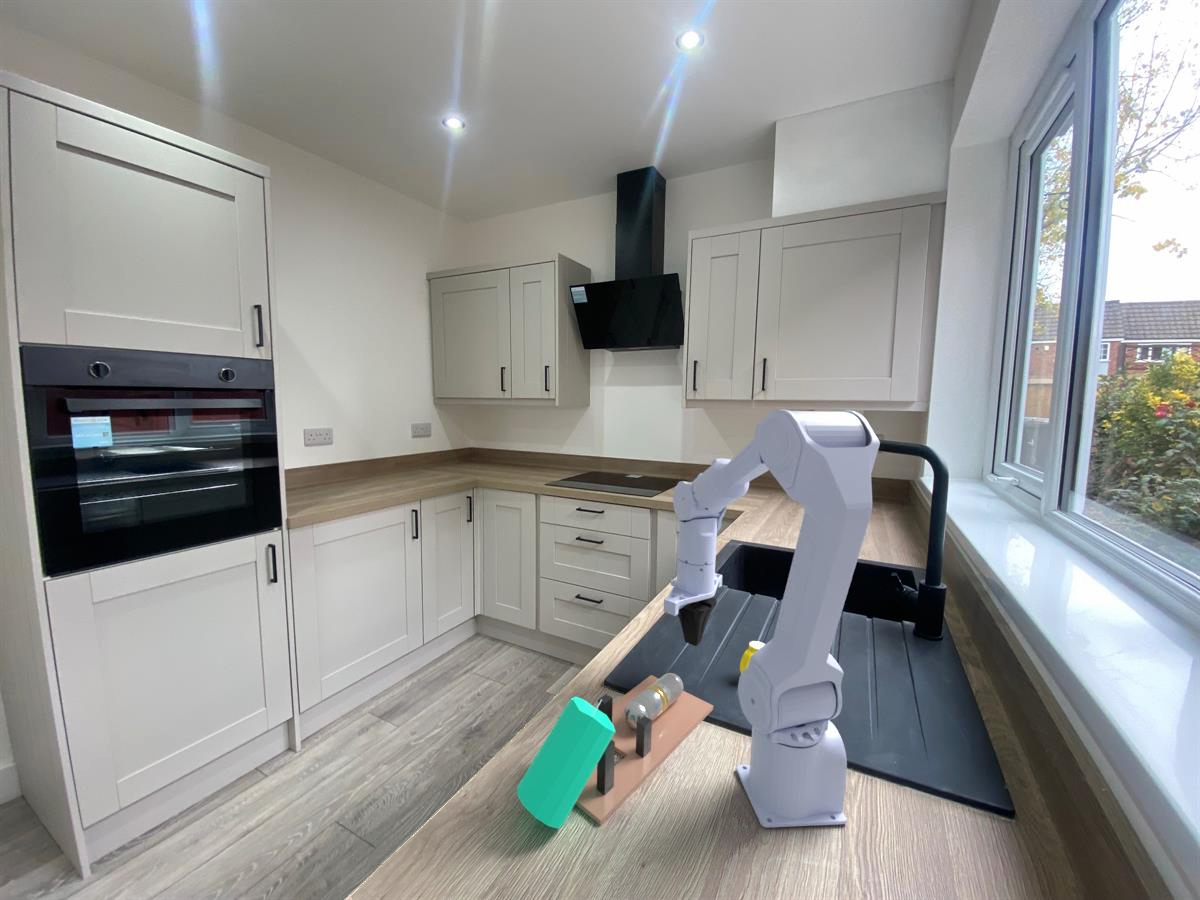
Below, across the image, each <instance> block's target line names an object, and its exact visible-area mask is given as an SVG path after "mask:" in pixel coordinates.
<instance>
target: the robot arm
mask: <svg viewBox="0 0 1200 900" xmlns="http://www.w3.org/2000/svg"><path fill="white" fill-rule="evenodd" d="M880 444H881V441H880V440H879V438H878V437H877V435H876V434H875V432H874V429H873V428H872V427H871V425H870V424H869V421H868V420H867V419H866V418H865V417H864V416H863V415H862V414H861V413H859V412H857V411H854V410H851V409H850V410H849V409H848V410H847V409H844V410H839V411H821V410H820V411H818V410H817V411H816V410H815V411H814V410H813V411H812V410H811V411H809V410H789V409H788V410H787V409H783V408H780V409H774V410H772V411H770V412H769V413H768V414H767V415H765V418H764V419H762V420H761V421H758V422H757V423H756V424H755V430H754V437H753V438H751V440H750V441H749V442H747V444H746V445H745V446H743V447H742V449H740V450H739V452H737V454H736V455H735V456H733V457H732V459H730V458H714V460H712V461H711V466H709V467H708V468H707V469H706V470H705V471H703V472H700V473H699V474H698V475H697V476H696V478H694V480H693V481H691V482H688V481H685V480H683V481H682V480H681V481H678V482H677V484H676V486H675V487H674V490H673V494H672V505H673V510H674V513H675V515H676V517H677V519H679V520H678V522H679V523H678V540H677V542H678V543H677V565H676V577H675V578H674V579H673V578H672V579H671V580H670V585H671V586H672V589H671V591H670V592H669V594H668V596H667V597H665V598H664V599H663V612H664V613H666V614H668V615H672V616H674V617H676V616H678V618H679V622H680V626H681V629H682V635H683V639H684V642H685V643H687V644H689V645H692V646H694V647H697V646H698V645H700V644H701V641H702V638H703V636H704V633H705V629H706V627H707V626H706V625H707V623H708V620H709V619H710V615H711V614H712V613H713V612H712V611H713V610H714V609H715V607H716V605H717V604H718V603H717V601H718V600H717V598H715V597H714V596H715V594H716V592H717V589H719V588H721V587H723V575H722V574H720V573H716V559H717V558H716V557H717V538H718V532H719V531H720V530H721V528H722V521H723V518H724V516H725V514H726V512H727V507H728V506H729V505H731V504H732V503H734V502H736V501H737V500H739V499H741V498H742V497H743V496H745V495H746V494H747V492H748V490H749V487H750V482H751V481H752V480H754V479H756V478H758V477H759V476H761V475H764V474H765V473H766V472H770V473H771V474H772V476H773V477H774V479H776V481H777V482H778V484H779V485H780V486H781V487H782V489H783V490H784V492H785V493H786V495H787V496H788V497H789V498H790V499H792V500H793V501H795V502H797V503H799V504H801V506H802V508H803V511H804V513H803V518H802V522H801V526H800V530H799V533H798V538H797V541H796V547H795V548H794V549H795V550H794V554H793V557H792V561H791V565H790V569H789V573H788V578H787V582H786V585H785V590H784V593H783V597H782V602H781V605H780V610H779V613H778V618H777V622H776V625H775V629H774V633H773V637H772V638H771V639H770V640H769V641H768V642H767V643H765V645H764V646H763V647H762V648H760V649H759V650H758V651H757V652H755V653H754V654H753V655H752V656H751V658H750V662H749V664H748V667H747V669H746V670H744V671H743V672H742V673H741V672H740V675H739V679H738V682H737V683H738V684H737V695H738V701H739V704H740V707H741V711H742V714H743V715H744V716H745V718H746V720H747V721H748V723H749V724H750V725H751V726H752V727H751V742H750V743H751V744H750V756H749V757H750V759H749V764H738V765H737V766H735V767H736V768H735V769H736V773H737V775H738V778H739V780H740V782H741V783H742V786H743V788H744V791H745V793H746V796H747V797H748V800H749V802H750V804H751V806H752V809H753V810H754V813H755V815H756V817H757V820H758V822H759V823H760V826H762V827H763V828H787V827H788V828H790V827H806V826H807V827H809V826H810V827H811V826H827V825H828V826H833V825H836V826H837V825H846V824H847V823H848V822H847V821H848V818H847V817H846V815H845V813H844V802H845V801H844V800H845V792H846V782H847V780H846V779H847V769H848V766H847V765H848V762H847V761H848V759H847V752H846V748H845V744H844V741H843V739H842V737H841V734H840V733H839V730H838V729H837V727H836V725H835V724H834V723H833V722H832V721H831V720H833V719H836V718H837V717H839V715H840V714H841V712H842V708H843V695H842V681H843V677H844V671H843V668H842V667H841V665H840V664H839V663H838V662H837V660H836V659H835V657H834V656H833V655H832V654H831V653H830V652H831V649H832V645H833V642H834V640H835V636H836V632H837V629H838V625H839V623H840V619H841V616H842V612H843V609H844V606H845V601H846V599H847V596H848V593H849V588H850V586H851V583H852V580H853V575H854V572H855V569H856V566H857V562H858V560H859V556H860V552H861V549H862V547H863V542H864V539H865V537H866V536H865V535H866V532H867V529H868V527H869V523H870V520H871V516H872V511H873V486H872V472H873V469H874V466H875V462H876V458H877V455H878V451H879V448H880V446H881V445H880Z"/></svg>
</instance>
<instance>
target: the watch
mask: <svg viewBox="0 0 1200 900" xmlns="http://www.w3.org/2000/svg"><path fill="white" fill-rule="evenodd" d="M764 645H766V643H764V642H762V641H758V640H751V641H749V643H748V648H747V649H746V650H745V651H744V652H743V654H742V656H741V658H740V664H739V671H740V674H741V673H742V672H743V671H744V670H746V669H747V667H748V665H749V662H750V658H751V656H752V655H753V654H754V653H755V652H757V651H758V650H759V649H760V648H762V647H763V646H764Z"/></svg>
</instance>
